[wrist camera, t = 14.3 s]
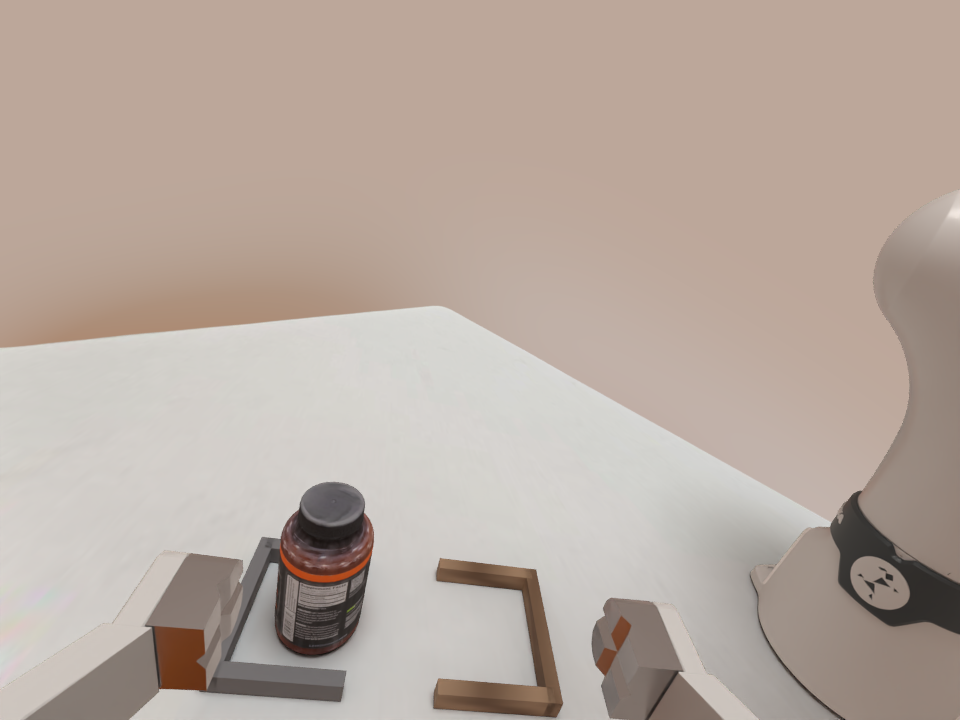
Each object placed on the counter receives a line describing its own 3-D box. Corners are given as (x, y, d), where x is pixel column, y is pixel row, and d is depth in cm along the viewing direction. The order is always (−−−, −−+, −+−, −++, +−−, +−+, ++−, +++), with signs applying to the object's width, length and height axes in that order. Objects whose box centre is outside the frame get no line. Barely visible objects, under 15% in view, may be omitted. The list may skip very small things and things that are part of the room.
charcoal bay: (366, 562, 41) (368, 549, 40) (340, 701, 31) (343, 687, 30) (261, 550, 40) (262, 536, 39) (199, 691, 30) (199, 675, 29)
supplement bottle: (291, 578, 38) (303, 462, 34) (367, 592, 39) (389, 479, 34) (258, 651, 33) (267, 524, 28) (346, 666, 33) (369, 544, 28)
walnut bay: (531, 581, 43) (536, 569, 43) (556, 717, 33) (563, 703, 33) (436, 570, 42) (440, 558, 41) (433, 708, 32) (438, 694, 31)
